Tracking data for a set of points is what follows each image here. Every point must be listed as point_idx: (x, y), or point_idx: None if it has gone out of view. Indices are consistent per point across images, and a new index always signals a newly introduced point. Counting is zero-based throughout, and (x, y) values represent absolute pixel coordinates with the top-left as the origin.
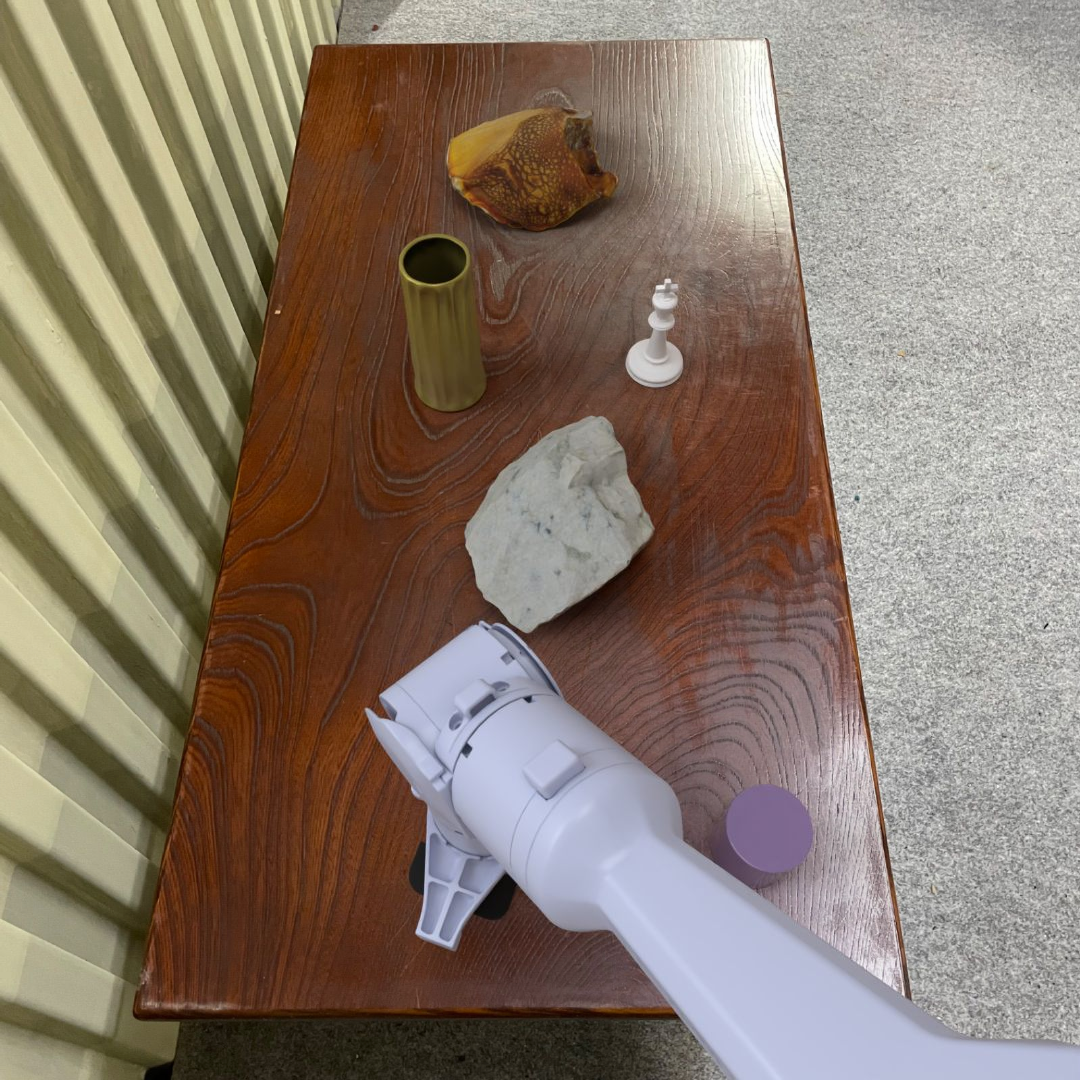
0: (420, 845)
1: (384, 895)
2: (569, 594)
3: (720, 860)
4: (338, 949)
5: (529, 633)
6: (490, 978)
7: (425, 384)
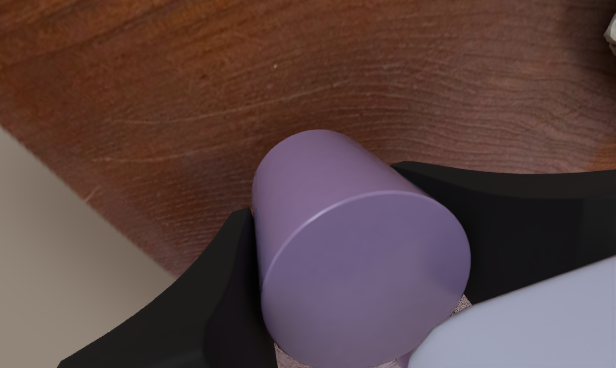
0: (187, 360)
1: (155, 71)
2: None
3: (412, 351)
4: (39, 58)
5: (606, 38)
6: (177, 245)
7: None
